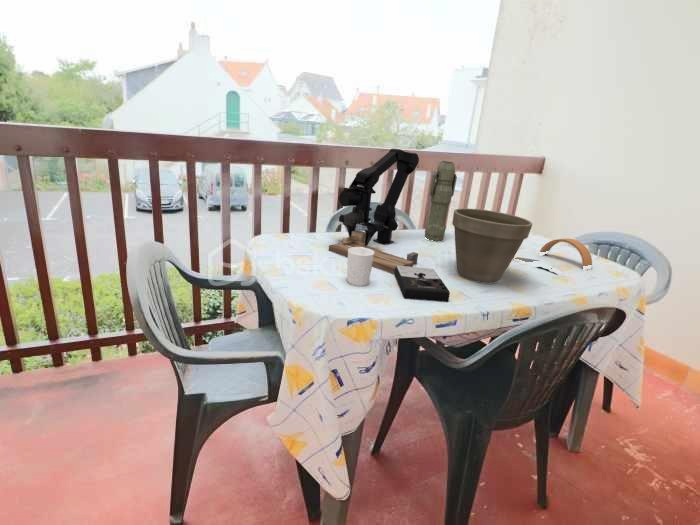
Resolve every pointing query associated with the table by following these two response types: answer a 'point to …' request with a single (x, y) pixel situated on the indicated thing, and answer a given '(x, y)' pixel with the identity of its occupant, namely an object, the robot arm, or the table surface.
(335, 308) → the table surface
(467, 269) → the plant pot
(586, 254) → the arch
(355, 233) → the marking gauge
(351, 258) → the white cup
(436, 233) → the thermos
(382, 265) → the walnut board
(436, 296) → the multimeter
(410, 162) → the robot arm
